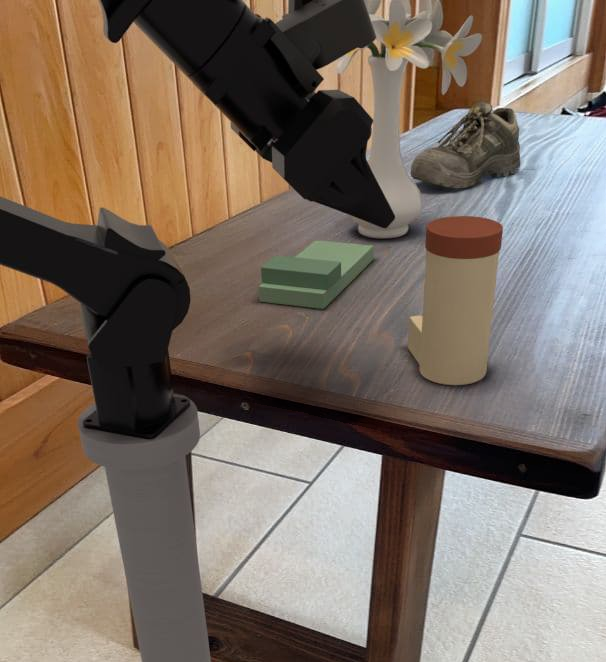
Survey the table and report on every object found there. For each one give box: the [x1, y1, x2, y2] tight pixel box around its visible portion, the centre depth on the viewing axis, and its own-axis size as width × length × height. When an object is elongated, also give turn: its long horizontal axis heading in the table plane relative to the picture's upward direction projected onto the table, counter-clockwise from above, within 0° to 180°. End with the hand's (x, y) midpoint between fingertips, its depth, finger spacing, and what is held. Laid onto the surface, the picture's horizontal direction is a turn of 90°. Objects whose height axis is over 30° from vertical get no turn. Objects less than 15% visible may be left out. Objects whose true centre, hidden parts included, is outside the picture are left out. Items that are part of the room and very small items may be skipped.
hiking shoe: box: [409, 100, 521, 189], centre depth 122 cm, size 9×21×12 cm, turn 133°
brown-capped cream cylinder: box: [407, 215, 504, 386], centre depth 70 cm, size 8×6×12 cm
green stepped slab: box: [258, 239, 375, 310], centre depth 91 cm, size 16×7×3 cm, turn 158°
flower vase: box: [336, 0, 483, 239], centre depth 98 cm, size 13×18×25 cm
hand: (369, 206), depth 64 cm, fingers open, 9 cm apart
